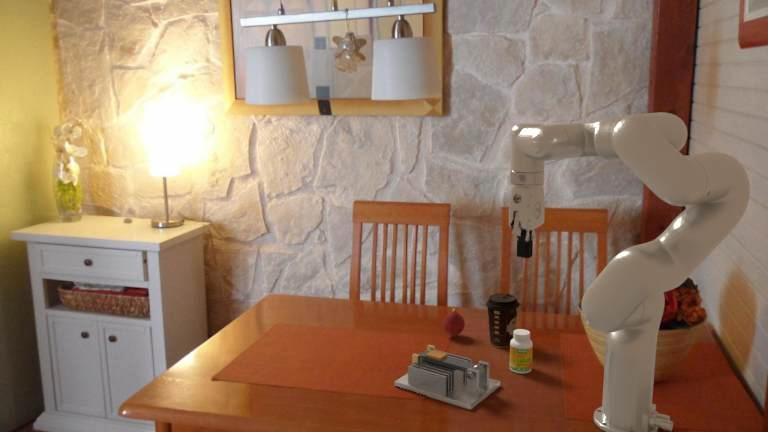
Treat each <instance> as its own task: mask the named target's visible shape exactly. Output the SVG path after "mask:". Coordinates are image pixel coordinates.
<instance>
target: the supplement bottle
mask: <svg viewBox="0 0 768 432" xmlns="http://www.w3.org/2000/svg"><path fill="white" fill-rule="evenodd" d="M513 337H514V338H513V339H512V340H511V342H510V347H509V369H510V371H511V372H513V373H516V374H522V375H524V374H529V373H531V372H532V369H533V348H534V347H533V346H534V345H533V344H534V343H533V341H532V340H531V332H530V331H529V330H528V329H524V328H517V329H515V330H514V332H513Z"/></svg>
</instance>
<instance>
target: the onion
mask: <svg viewBox="0 0 768 432" xmlns="http://www.w3.org/2000/svg"><path fill="white" fill-rule="evenodd" d="M465 323H466V322H465V319H464V317H463V315H462V314H461V313H459V312H458V311H457V309H456V308H453V309H452V310H451V312H449V313H448V314H447V315H446V316H445V317H444V319H443V323H442V324H443V328H444V331H445V332H446V333H447V334H448V335H449V336H451V337H453V338H456V337H457V336H459V335H460V334H461V333H462V332H463V331H464V330H465V326H466V324H465Z"/></svg>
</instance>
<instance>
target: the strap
mask: <svg viewBox="0 0 768 432" xmlns="http://www.w3.org/2000/svg"><path fill="white" fill-rule="evenodd" d="M438 351H439V350H438ZM438 351H434V350H432V351H430V352H429V351H427V349H426V350H424V351H422V352H420V353H419V355H420V359H421V360H425V361H428V362H432V363H435V364H439V365H442V366H446V367H449V368H453V369H456V370H460V371H463V372H467V369H469V368H472V369H476V370H479V376H481V375H482V374H483V373H485V372H486V366H485V365H484V364H483V363H478V364H476V363H473V362H471V363H469V362H465V361H462V360H458V359H454V358H451V357H447V354H445V353H441V352H438Z"/></svg>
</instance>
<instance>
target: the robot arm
mask: <svg viewBox="0 0 768 432" xmlns="http://www.w3.org/2000/svg"><path fill="white" fill-rule="evenodd" d="M686 125H687V124H685V122H684V121H683V120H682V119H681V118H680V117H679V116H678V115H676V114H673V113H670V112H665V111H663V112H660V111H658V112H649V113H647V112H646V113H635V114H629V115H618V116H616V115H615V116H607V117H604V118H602V119H601V120H597V121H587V122H573V123H572V122H571V123H558V124H549V125H548V124H547V125H543V124H540V123H532V122H531V123H527V122H525V123H517V124H515V125H513V126H512V128H511V133H510V134H511V135H510V138H511V139H510V166H509V167H510V171H509V174H510V175H509V185H510V186H511V188H510V197H509V204H508V205H509V206H508V226H509V227H510V229H512V235H513V236H514V237H515V239H516V257H518V258H524V259H530V258H532V257H533V249H534V248H533V245H534V237H535V230H536V229H537V228H538V227H541V226H542V225H543V224H544V223H545V215H546V213H545V212H546V211H545V190H544V184H545V163H546V162H545V161H547V162H548V161H558V160H562V159H564V160H565V159H575V158H584V157H585V158H586V157H587V158H588V157H600V158H602V159H603V160H605V161H606V160H607V161H622V162H623V164H624V165H625V166H626V167H627V168H628V169H629V170H630V171H631V172H632V173H633V174H634V175H635V176H636V177H637V178H638V179H639V180H640V181H641V182H642V183H643V184H644V185H645V186H646V187H647V188H648V189H649V190H650V191H651V192H652V193H653V194H654V195H655V196H656V197H657V198H659V199H660V200H662V201H663V202H664V203H666V204H669V205H671V206H674V207H675V206H676V207H687V208H686V209H684V210H683V211H682V212H680V213H679V214H678V215H677V216H676V217H675V218H674V219H673V220H672V221H671V223H670V224H669V225H668V226H667V227H666V229H665V230H664V231H662V233H660V235H658V236H657V237H656V238H655V239H652V240H650V241H648V242H644V243H640V244H636V245H633V246H629V247H627V248H625V249H623V250H621V251H620V252H619V253H617V255H615V256H614V257H613V258H612V259H611V260H610V261H609V262H608V264H607V265H606V266H605V267H604V268H603V270H602V271H601V272H600V273H599V274H598V276H597V277H596V278H595V279H594V280H593V281H592V283H591V284H590V285H589V286H588V287H587V289H586V290H585V291H584V294H583V297H582V299H581V304H580V305H581V313H582V317H583V320H584V322H585V323H586V324H587V325H588V327H589V328H591V329H592V330H594V331H596V332H599V333H603V334H607V335H606V339H605V340H606V341H605V349H604V350H605V352H604V366H603V367H604V370H603V371H604V372H603V384H602V386H603V387H602V388H603V389H602V401H601V404H602V405H601V406H600V407H598V408H596V409H595V411H594V413H593V422H594V424H595V425H596V426H597V427H598V428H599V429H600V430H602V431H603V432H658V431H659V428H660V429H663V430H664V431H669V432H672V430H673V427H674V421H673V420H671V419H670V418H671V416H670V415H668V414H664V413H659V411H657V410H656V409H657V405H656V404H655V403H653V393H654V382H655V381H654V380H655V368H656V367H655V366H656V355H657V343H658V336H659V335H658V334H659V329H660V326H661V322H662V318H663V314H664V311H665V301H666V300H665V299H666V298H665V294H664V293H666V292H669V291H672V290H674V289H676V288H678V287H680V286H681V285H682V284H683V283H685V282H686V280H688V278H690V276H691V275H692V274H693V273H694V272H695V271H696V270H697V268H699V266H700V265H701V264H703V262H704V261H705V260H707V258H709V256H710V255H711V253H712V252H713V251H714V250H715V249H716V248H717V247H718V246H719V245H721V243H722V242H723V241H725V239H726V238H727V237H728V236H729V234H731V232H733V230H734V229H735V228H736V227H737V226H738V224H739V223H740V221H741V219H742V218H743V217H744V214H745V212H746V211H747V208H748V204H749V202H750V201H749V200H750V193H751V188H750V180H749V177H748V174H747V170H746V169H745V167H744V166H743V164H742V163H741V162H740V161H739V160H738V159H737V158H735V157H734V156H732V155H729V154H727V153H724V152H723V153H722V152H702V153H696V154H688V155H684V154H682V153H681V152H680V151H681V150H682V149H683V148H684V147H685V145H686V143H687V139H688V128H687V126H686Z"/></svg>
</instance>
